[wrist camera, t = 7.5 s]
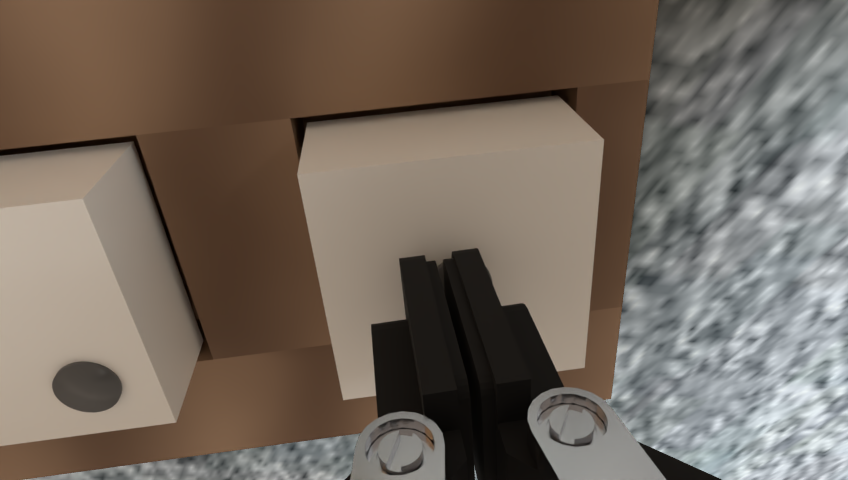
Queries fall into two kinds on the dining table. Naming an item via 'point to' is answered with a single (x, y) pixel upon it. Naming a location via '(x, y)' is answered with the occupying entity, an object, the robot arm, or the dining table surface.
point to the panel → (278, 166)
